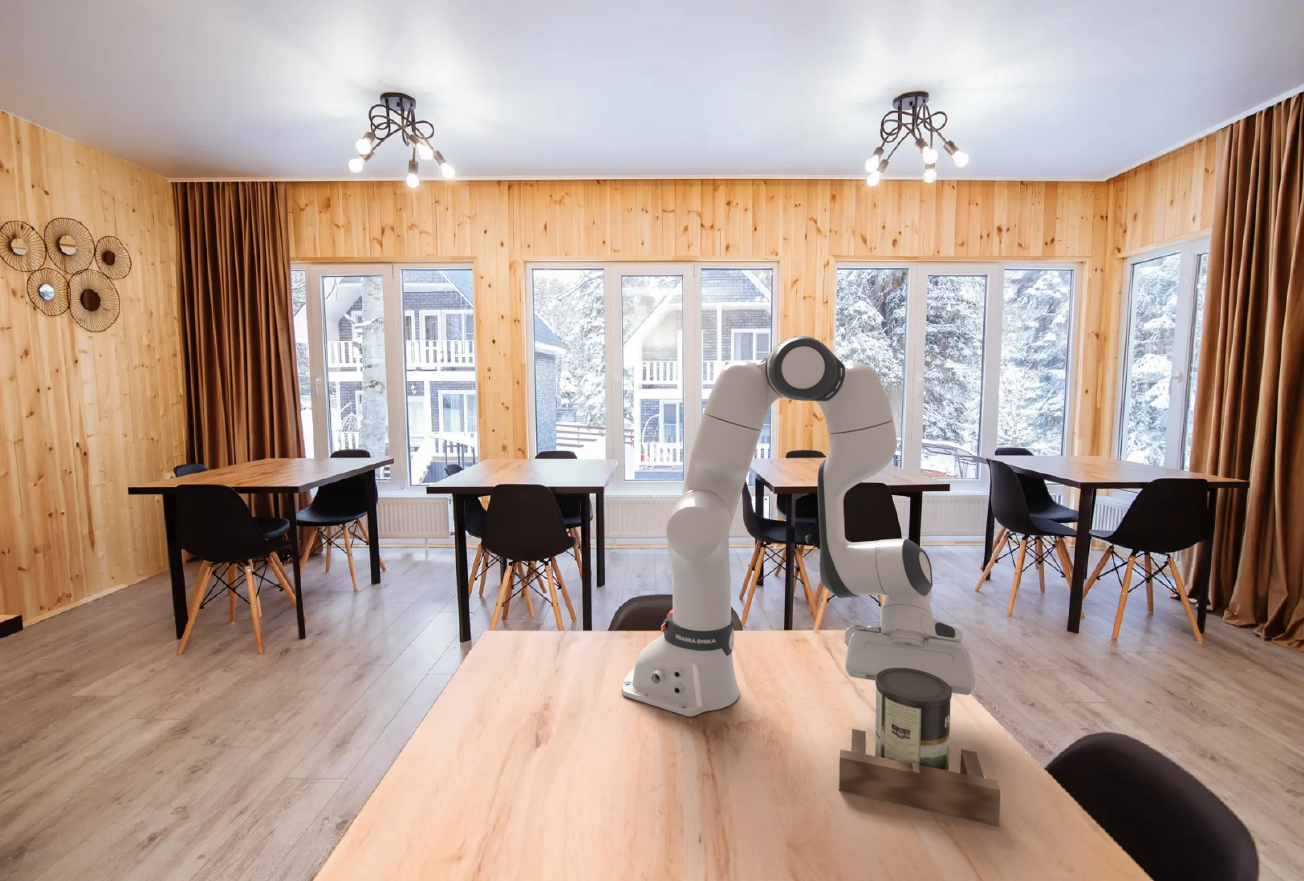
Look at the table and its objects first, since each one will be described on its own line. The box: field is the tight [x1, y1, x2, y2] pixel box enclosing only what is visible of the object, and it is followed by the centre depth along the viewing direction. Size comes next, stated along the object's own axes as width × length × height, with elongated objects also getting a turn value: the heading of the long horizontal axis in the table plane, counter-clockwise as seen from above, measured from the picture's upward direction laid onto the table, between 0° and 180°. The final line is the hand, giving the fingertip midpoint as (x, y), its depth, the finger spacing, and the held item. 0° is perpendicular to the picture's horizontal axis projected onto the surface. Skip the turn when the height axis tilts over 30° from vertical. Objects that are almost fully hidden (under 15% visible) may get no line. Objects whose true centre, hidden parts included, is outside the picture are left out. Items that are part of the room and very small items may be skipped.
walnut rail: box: [838, 728, 1001, 827], centre depth 82 cm, size 20×8×5 cm, turn 69°
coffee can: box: [874, 668, 953, 771], centre depth 85 cm, size 10×10×14 cm
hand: (908, 711), depth 94 cm, fingers closed
